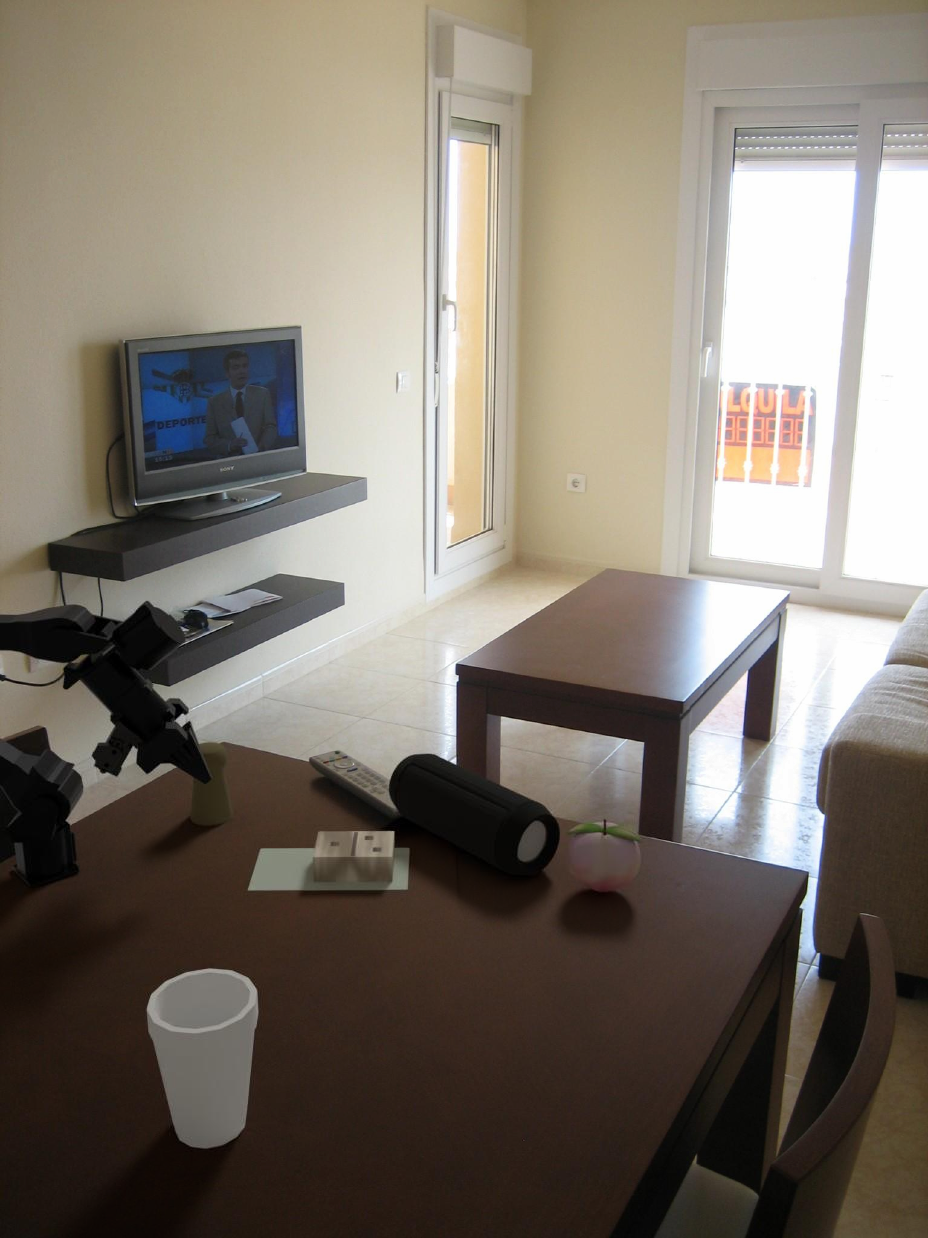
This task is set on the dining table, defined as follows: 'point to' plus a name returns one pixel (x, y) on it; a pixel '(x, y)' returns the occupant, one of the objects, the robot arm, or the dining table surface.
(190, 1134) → the foam cup
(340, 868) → the domino
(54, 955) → the dining table surface
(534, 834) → the portable speaker
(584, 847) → the decorative fruit
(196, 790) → the cork
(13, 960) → the dining table surface
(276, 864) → the plate
